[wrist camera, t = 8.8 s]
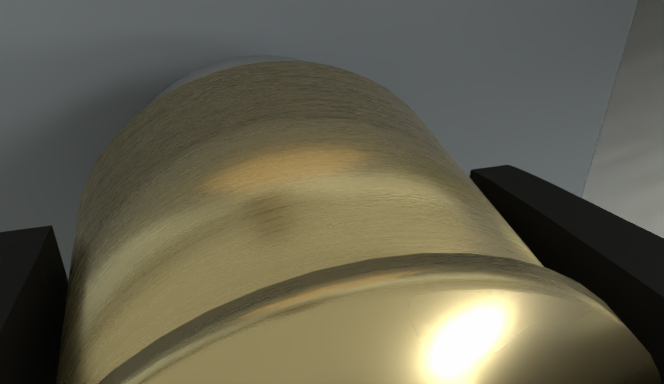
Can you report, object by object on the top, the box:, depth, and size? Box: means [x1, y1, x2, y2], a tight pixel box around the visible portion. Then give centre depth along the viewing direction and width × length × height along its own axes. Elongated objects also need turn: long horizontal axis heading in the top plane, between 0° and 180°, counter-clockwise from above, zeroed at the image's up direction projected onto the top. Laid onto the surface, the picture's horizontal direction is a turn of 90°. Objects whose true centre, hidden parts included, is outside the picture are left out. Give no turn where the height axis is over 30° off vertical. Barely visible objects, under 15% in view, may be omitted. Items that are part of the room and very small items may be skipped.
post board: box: [0, 0, 639, 281], centre depth 10 cm, size 13×25×2 cm, turn 179°
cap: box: [56, 61, 662, 384], centre depth 7 cm, size 6×6×4 cm
